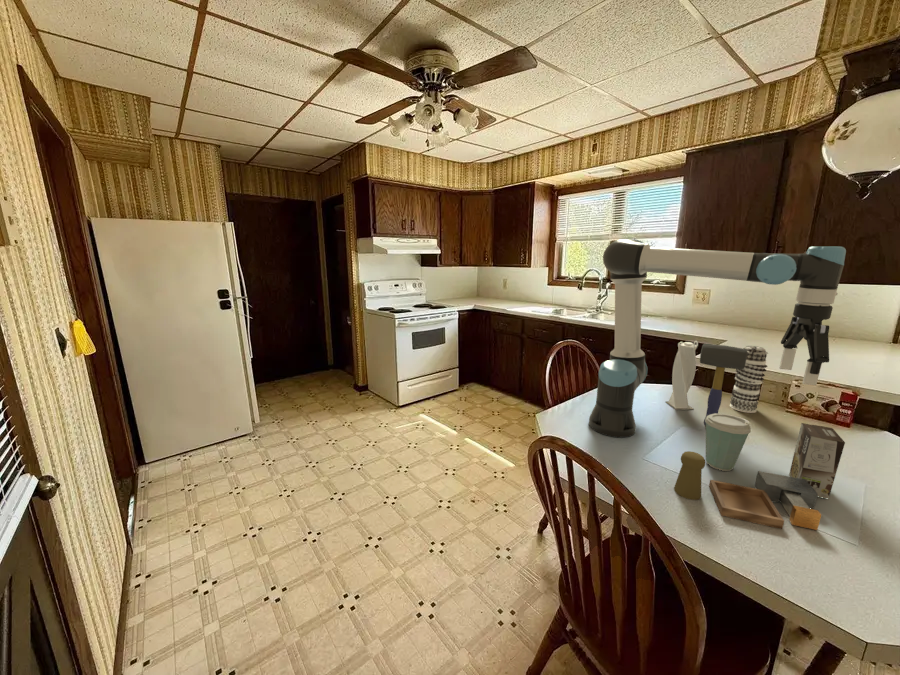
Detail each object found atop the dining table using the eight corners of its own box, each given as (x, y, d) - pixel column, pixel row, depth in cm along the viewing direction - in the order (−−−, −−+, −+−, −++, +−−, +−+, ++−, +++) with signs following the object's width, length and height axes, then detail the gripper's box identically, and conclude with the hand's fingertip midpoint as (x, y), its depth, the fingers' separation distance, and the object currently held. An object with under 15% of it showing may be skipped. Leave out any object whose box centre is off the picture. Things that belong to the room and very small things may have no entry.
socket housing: (763, 499, 93) (766, 484, 92) (754, 485, 98) (758, 470, 97) (813, 510, 89) (817, 493, 88) (801, 495, 94) (805, 479, 93)
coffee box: (830, 500, 92) (846, 442, 88) (795, 492, 96) (810, 435, 92) (819, 481, 100) (833, 427, 96) (787, 474, 103) (800, 421, 99)
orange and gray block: (792, 524, 84) (796, 509, 83) (772, 494, 94) (775, 480, 93) (817, 530, 82) (821, 515, 81) (793, 498, 93) (797, 484, 92)
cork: (668, 485, 98) (674, 448, 96) (689, 484, 99) (696, 447, 96) (684, 500, 92) (691, 461, 90) (707, 499, 93) (714, 460, 90)
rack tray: (720, 515, 87) (722, 507, 87) (708, 486, 98) (710, 479, 97) (782, 529, 83) (784, 521, 82) (762, 497, 93) (764, 490, 93)
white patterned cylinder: (735, 412, 142) (748, 349, 136) (723, 402, 150) (735, 343, 144) (762, 414, 140) (776, 351, 134) (749, 404, 148) (761, 344, 143)
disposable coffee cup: (691, 463, 108) (699, 416, 105) (705, 451, 115) (713, 406, 111) (734, 480, 100) (745, 430, 97) (747, 466, 107) (757, 419, 103)
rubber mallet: (731, 428, 129) (747, 346, 122) (731, 437, 123) (749, 351, 116) (689, 419, 136) (702, 340, 129) (687, 426, 130) (701, 345, 123)
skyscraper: (695, 411, 142) (707, 341, 136) (674, 411, 143) (685, 341, 136) (682, 402, 151) (693, 336, 144) (662, 402, 151) (672, 336, 144)
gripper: (862, 311, 89) (839, 393, 94) (807, 298, 111) (791, 365, 116) (822, 310, 91) (802, 389, 96) (776, 297, 114) (762, 362, 119)
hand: (796, 376), depth 106 cm, fingers open, 13 cm apart
